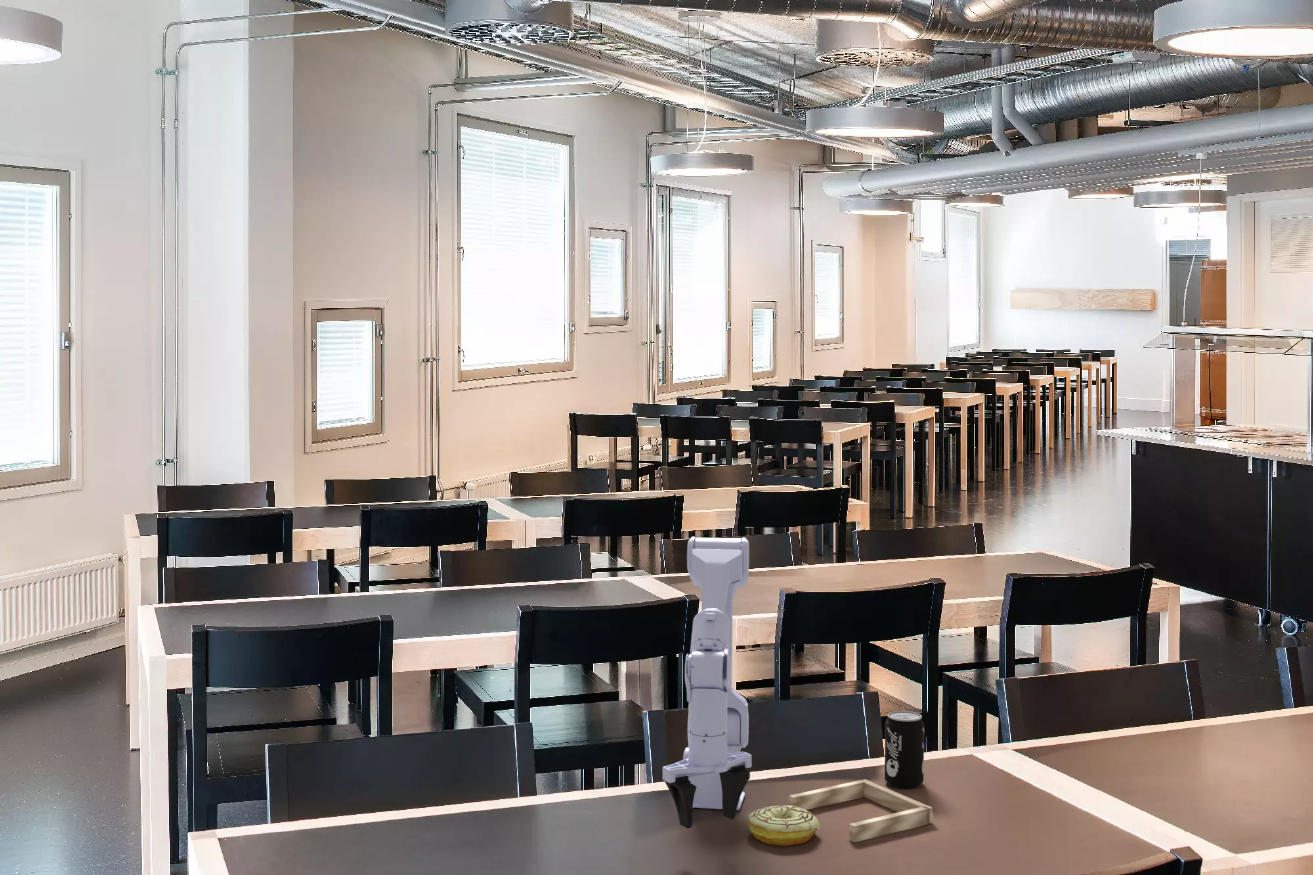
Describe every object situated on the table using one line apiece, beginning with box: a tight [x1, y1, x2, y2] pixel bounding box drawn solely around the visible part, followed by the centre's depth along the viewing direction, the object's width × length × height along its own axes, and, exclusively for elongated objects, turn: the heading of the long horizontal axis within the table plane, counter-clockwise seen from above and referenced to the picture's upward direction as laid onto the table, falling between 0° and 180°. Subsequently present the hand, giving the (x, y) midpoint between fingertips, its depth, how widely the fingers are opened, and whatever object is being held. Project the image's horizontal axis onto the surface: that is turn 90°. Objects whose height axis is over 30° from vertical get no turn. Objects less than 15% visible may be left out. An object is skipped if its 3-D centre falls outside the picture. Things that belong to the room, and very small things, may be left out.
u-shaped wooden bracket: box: [788, 778, 934, 843], centre depth 218 cm, size 16×16×2 cm
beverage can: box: [884, 710, 925, 790], centre depth 234 cm, size 7×7×12 cm
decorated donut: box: [747, 804, 820, 847], centre depth 210 cm, size 10×11×4 cm
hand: (707, 821), depth 203 cm, fingers open, 7 cm apart
